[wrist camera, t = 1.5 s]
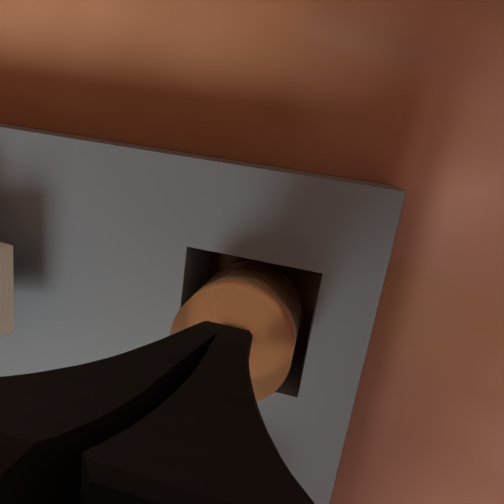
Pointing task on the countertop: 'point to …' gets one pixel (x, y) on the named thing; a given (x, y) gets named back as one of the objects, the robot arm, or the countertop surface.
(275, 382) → the push button
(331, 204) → the panel
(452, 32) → the countertop surface
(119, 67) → the countertop surface
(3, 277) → the rocker switch
